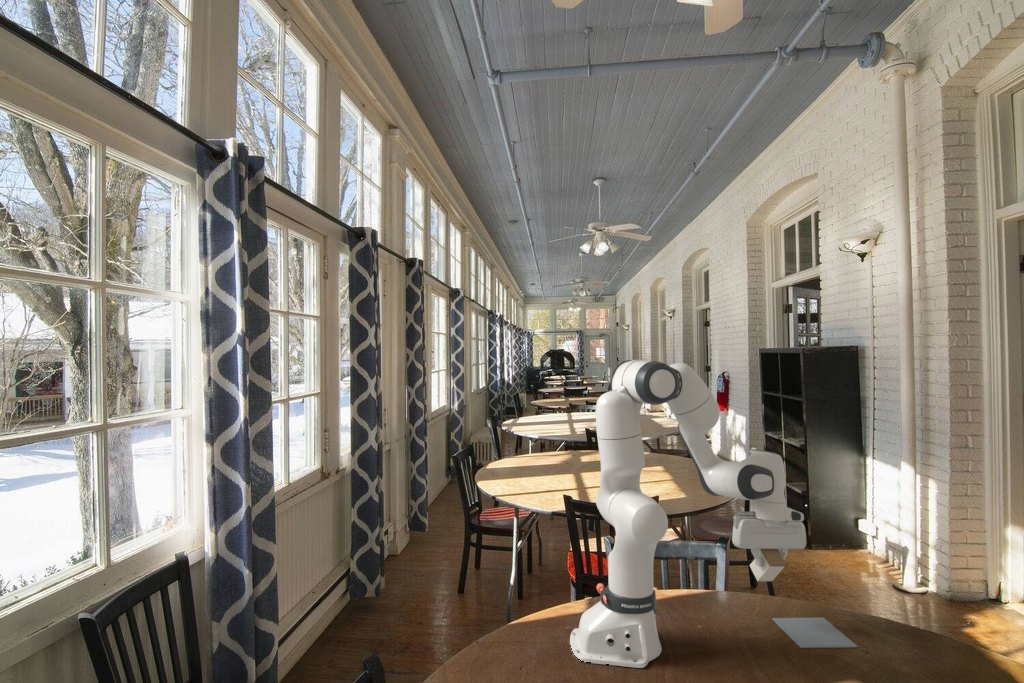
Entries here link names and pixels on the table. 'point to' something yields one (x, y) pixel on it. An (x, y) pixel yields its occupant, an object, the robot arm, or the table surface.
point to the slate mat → (813, 633)
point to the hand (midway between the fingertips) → (769, 566)
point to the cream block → (768, 565)
